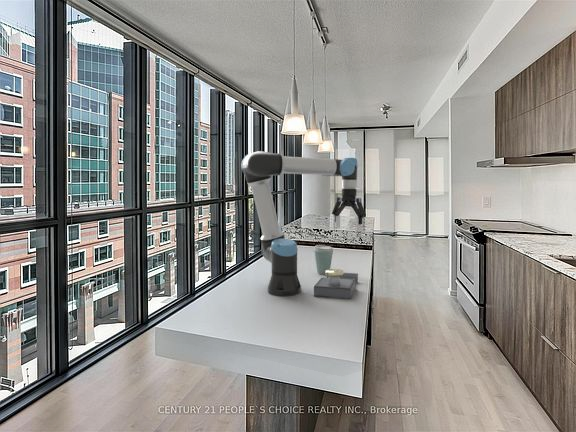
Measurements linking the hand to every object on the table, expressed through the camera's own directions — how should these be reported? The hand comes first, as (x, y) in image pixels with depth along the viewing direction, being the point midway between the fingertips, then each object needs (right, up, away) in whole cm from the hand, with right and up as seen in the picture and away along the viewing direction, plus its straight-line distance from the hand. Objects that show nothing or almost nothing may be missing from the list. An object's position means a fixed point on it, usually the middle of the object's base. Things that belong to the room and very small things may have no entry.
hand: (347, 229), depth 201 cm
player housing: (-10, -28, -25) cm, 39 cm away
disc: (-10, -19, -28) cm, 36 cm away
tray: (-6, -26, -12) cm, 30 cm away
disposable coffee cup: (-12, -25, +12) cm, 30 cm away
